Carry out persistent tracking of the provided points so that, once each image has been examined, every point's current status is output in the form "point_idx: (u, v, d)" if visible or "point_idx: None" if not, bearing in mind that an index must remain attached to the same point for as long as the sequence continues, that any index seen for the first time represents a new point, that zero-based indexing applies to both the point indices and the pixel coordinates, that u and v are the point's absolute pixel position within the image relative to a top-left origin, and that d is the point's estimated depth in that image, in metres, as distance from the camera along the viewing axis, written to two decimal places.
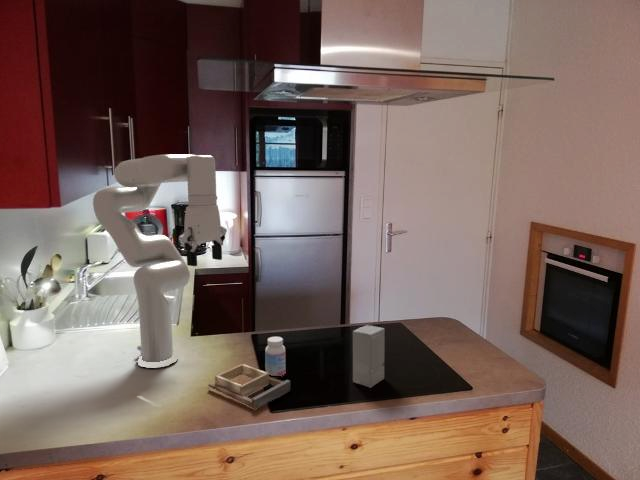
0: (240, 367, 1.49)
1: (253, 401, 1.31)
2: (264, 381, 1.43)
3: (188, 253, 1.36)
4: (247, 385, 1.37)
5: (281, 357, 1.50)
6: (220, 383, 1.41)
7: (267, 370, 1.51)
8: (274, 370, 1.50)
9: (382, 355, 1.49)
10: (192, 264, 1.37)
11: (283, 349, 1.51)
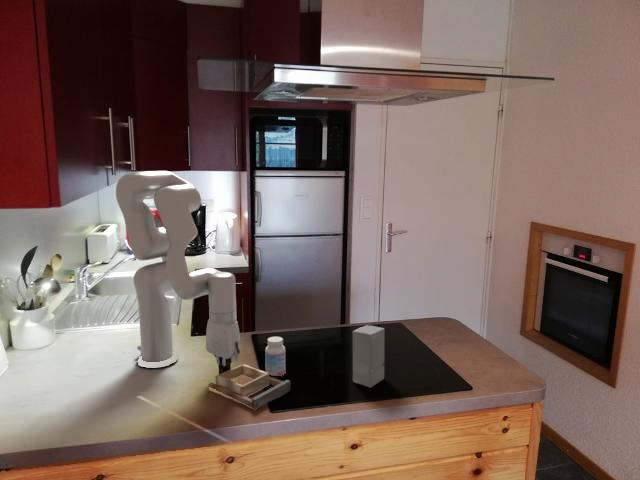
0: (241, 367, 1.49)
1: (253, 401, 1.31)
2: (264, 381, 1.43)
3: (227, 366, 1.46)
4: (247, 385, 1.37)
5: (281, 357, 1.50)
6: (220, 383, 1.41)
7: (267, 370, 1.51)
8: (274, 370, 1.50)
9: (382, 355, 1.49)
10: None
11: (283, 349, 1.51)
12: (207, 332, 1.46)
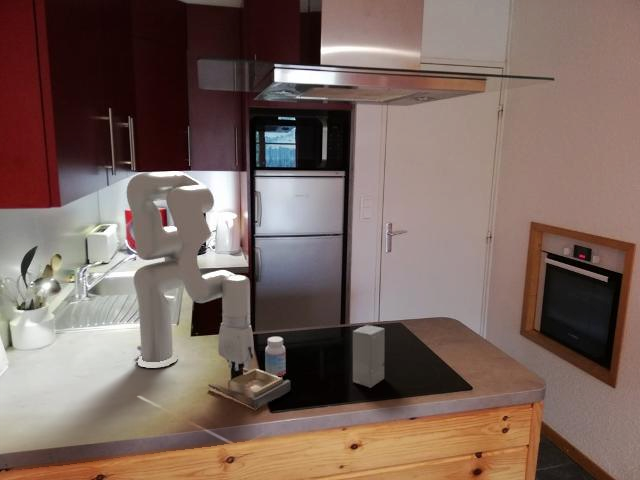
0: (253, 372, 1.46)
1: (253, 401, 1.31)
2: None
3: (240, 371, 1.43)
4: (261, 391, 1.34)
5: (281, 357, 1.50)
6: (233, 388, 1.38)
7: (267, 370, 1.51)
8: (274, 370, 1.50)
9: (382, 355, 1.49)
10: None
11: (283, 349, 1.51)
12: (220, 336, 1.42)
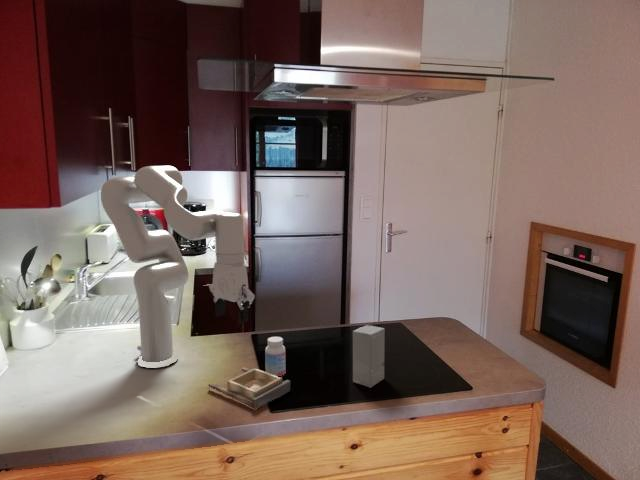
0: (253, 372, 1.46)
1: (253, 401, 1.31)
2: None
3: (245, 310, 1.38)
4: (261, 390, 1.34)
5: (281, 357, 1.50)
6: (233, 388, 1.38)
7: (267, 370, 1.51)
8: (274, 370, 1.50)
9: (382, 355, 1.49)
10: (245, 320, 1.40)
11: (283, 349, 1.51)
12: (214, 275, 1.40)
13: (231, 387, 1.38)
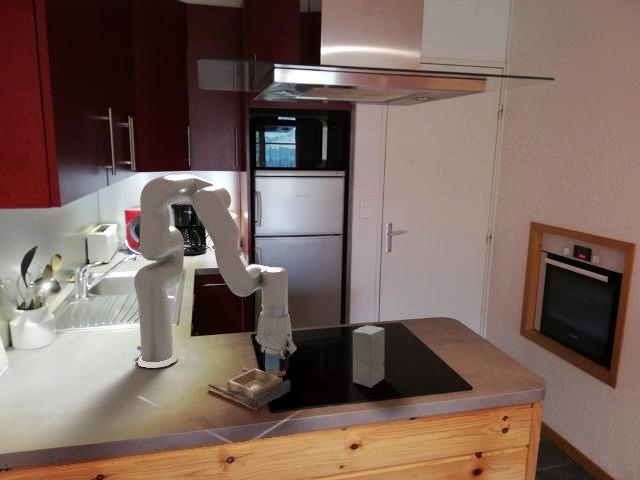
0: (253, 372, 1.46)
1: (253, 401, 1.31)
2: None
3: (286, 359, 1.50)
4: (261, 390, 1.34)
5: None
6: (233, 388, 1.38)
7: (267, 370, 1.51)
8: (274, 370, 1.50)
9: (382, 355, 1.49)
10: (285, 368, 1.51)
11: None
12: (259, 325, 1.51)
13: (231, 387, 1.38)
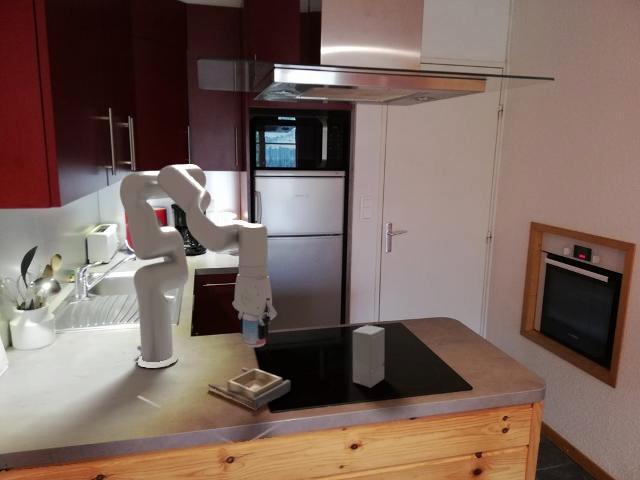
0: (253, 372, 1.46)
1: (253, 401, 1.31)
2: None
3: (265, 326, 1.35)
4: (261, 390, 1.34)
5: None
6: (233, 388, 1.38)
7: (245, 338, 1.36)
8: (252, 338, 1.35)
9: (382, 355, 1.49)
10: (265, 336, 1.36)
11: (262, 315, 1.36)
12: (236, 288, 1.36)
13: (231, 387, 1.38)
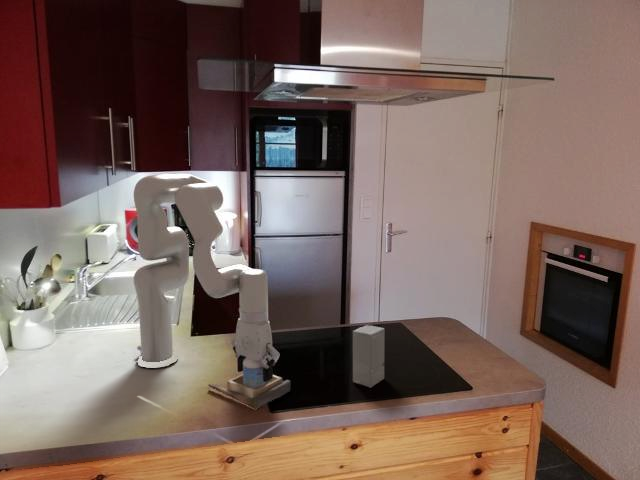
0: None
1: (253, 401, 1.31)
2: None
3: (270, 368, 1.36)
4: (260, 390, 1.34)
5: (260, 371, 1.37)
6: (233, 388, 1.38)
7: (245, 385, 1.38)
8: (252, 385, 1.37)
9: (382, 355, 1.49)
10: (269, 378, 1.37)
11: None
12: (237, 332, 1.38)
13: (231, 387, 1.38)
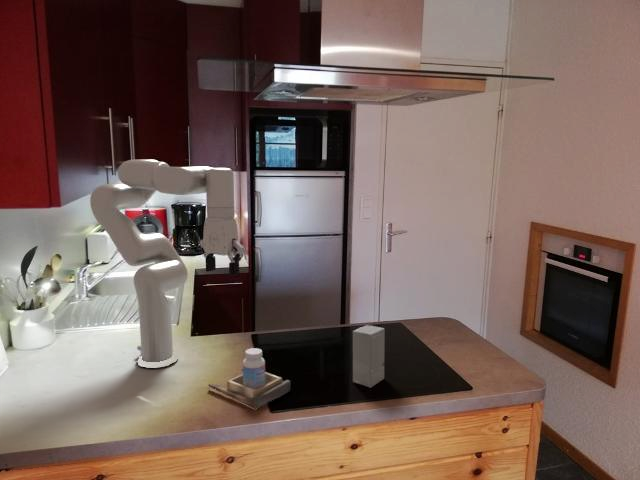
0: None
1: (253, 401, 1.31)
2: None
3: (236, 264, 1.39)
4: (260, 390, 1.34)
5: (260, 370, 1.37)
6: (232, 388, 1.38)
7: (245, 385, 1.38)
8: (252, 385, 1.37)
9: (382, 355, 1.49)
10: (236, 274, 1.41)
11: (262, 362, 1.38)
12: (204, 230, 1.42)
13: (231, 387, 1.38)
